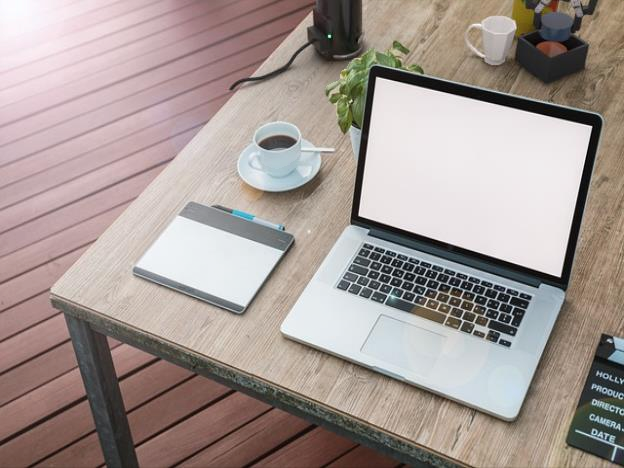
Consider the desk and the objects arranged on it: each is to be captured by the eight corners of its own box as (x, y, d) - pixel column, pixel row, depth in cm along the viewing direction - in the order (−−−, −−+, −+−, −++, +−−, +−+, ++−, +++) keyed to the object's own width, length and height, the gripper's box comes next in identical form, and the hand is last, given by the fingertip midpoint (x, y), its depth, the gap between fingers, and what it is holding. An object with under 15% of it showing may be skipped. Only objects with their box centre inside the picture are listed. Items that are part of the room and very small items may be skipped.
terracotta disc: (563, 72, 165) (566, 60, 163) (531, 68, 167) (533, 56, 165) (565, 55, 170) (568, 43, 168) (534, 51, 171) (536, 39, 169)
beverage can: (540, 47, 173) (549, -6, 164) (501, 33, 177) (508, -19, 169) (561, 27, 178) (571, -25, 169) (523, 14, 182) (530, -37, 173)
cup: (506, 72, 167) (511, 37, 162) (458, 61, 171) (461, 27, 165) (516, 53, 172) (521, 18, 166) (469, 43, 175) (472, 9, 169)
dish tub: (545, 84, 164) (550, 60, 160) (514, 60, 170) (517, 36, 166) (584, 68, 167) (589, 44, 163) (551, 45, 173) (556, 21, 169)
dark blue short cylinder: (553, 45, 161) (555, 32, 159) (532, 30, 164) (534, 18, 162) (578, 35, 162) (580, 22, 160) (556, 21, 166) (559, 8, 164)
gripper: (612, -59, 152) (594, 23, 164) (531, -65, 155) (519, 15, 167) (611, -39, 147) (593, 44, 159) (527, -46, 150) (515, 35, 162)
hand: (555, 29), depth 163 cm, fingers closed on dark blue short cylinder, 6 cm apart
